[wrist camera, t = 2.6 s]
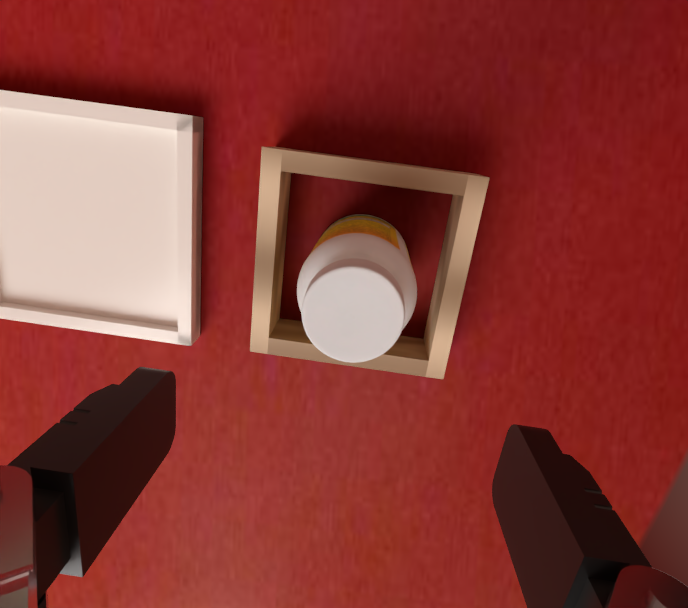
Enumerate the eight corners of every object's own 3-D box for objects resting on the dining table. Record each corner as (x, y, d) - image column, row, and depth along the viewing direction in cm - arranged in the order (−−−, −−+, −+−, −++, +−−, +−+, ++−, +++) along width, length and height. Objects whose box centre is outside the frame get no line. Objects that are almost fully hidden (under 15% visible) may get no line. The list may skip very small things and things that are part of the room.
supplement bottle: (424, 269, 26) (451, 336, 17) (350, 317, 27) (338, 402, 18) (372, 192, 25) (371, 219, 16) (297, 246, 26) (255, 300, 17)
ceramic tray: (-32, 86, 24) (-57, 82, 23) (203, 117, 24) (192, 115, 22) (2, 307, 29) (-18, 315, 27) (200, 336, 28) (191, 345, 27)
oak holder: (275, 146, 24) (261, 146, 21) (476, 173, 24) (489, 177, 21) (262, 330, 28) (250, 351, 25) (436, 355, 28) (443, 379, 25)
